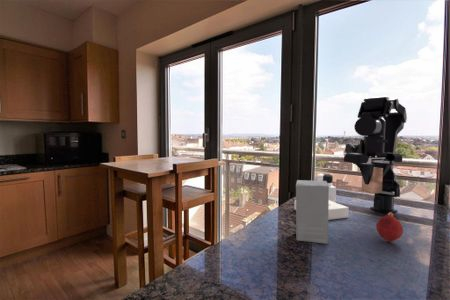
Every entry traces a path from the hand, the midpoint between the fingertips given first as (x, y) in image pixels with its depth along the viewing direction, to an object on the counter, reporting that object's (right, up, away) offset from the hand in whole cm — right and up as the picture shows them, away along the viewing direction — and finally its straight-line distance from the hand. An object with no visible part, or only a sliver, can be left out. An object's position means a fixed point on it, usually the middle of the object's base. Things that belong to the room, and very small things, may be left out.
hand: (371, 184), depth 77 cm
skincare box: (-24, -14, -12) cm, 30 cm away
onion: (-4, -14, -14) cm, 20 cm away
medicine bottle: (-5, -11, +24) cm, 27 cm away
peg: (0, -3, 0) cm, 3 cm away
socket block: (-13, -12, +9) cm, 20 cm away
